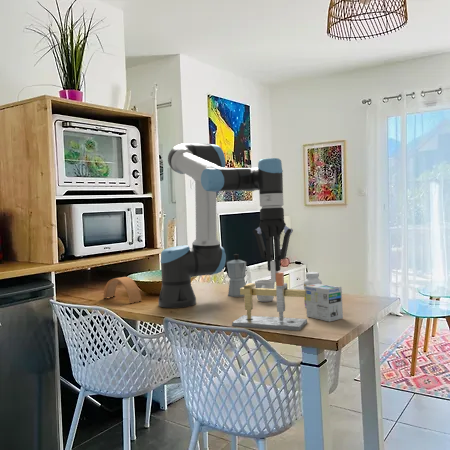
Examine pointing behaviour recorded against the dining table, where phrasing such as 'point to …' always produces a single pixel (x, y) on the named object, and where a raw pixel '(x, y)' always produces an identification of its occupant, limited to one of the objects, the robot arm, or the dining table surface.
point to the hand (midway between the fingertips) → (274, 281)
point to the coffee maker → (235, 275)
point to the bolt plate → (270, 322)
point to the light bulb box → (324, 302)
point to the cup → (264, 285)
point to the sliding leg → (280, 294)
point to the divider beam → (250, 291)
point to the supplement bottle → (311, 280)
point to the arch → (129, 286)
